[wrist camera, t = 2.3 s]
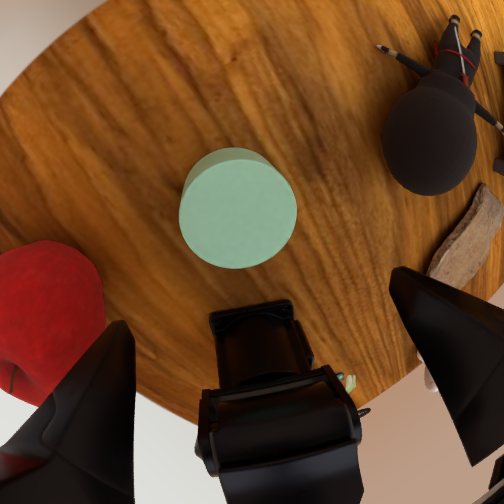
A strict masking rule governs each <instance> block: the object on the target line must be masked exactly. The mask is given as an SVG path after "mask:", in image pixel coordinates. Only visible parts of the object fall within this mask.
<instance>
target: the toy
mask: <svg viewBox="0 0 504 504" xmlns="http://www.w3.org/2000/svg"><path fill="white" fill-rule="evenodd" d="M449 22H450V23H449V25H448V26H447V28H446V30H445V31H444V33H443V35H442V37H441V40H440V43H439V46H438V48H437V45H436V42H435V41H434V48H435V46H436V48H435V52H436V58H435V63H434V69H431V68H428V67H426V66H424V65H422V64H420V63H418V62H416V61H414V60H412V59H411V58H409V57H407V56H405V55H403V54H401V53H399V52H396V51H394V50H391V49H389V48H387V47H385V46H382V45H377V47H378V48H379V49H380V50H382V51H384V52H383V53H388V54H390V55H391V56H393V57H395V59H396V60H398V61H399V62H401V63H403V64H404V65H406V66H407V67H409V68H410V69H412V70H413V71H414V72H416V73H417V74H419V75H420V76H421V77H422V78H421V79H420V80H419V82H418V84H417V86H416V88H415V89H413V90H410V91H409V92H407V93H405V94H404V95H403V96H401V97H400V98H399V99H398V100H397V101H396V102H395V103H394V105H393V107H392V108H391V110H390V112H389V114H388V116H387V118H386V121H385V125H384V130H383V140H382V143H383V152H384V157H385V160H386V163H387V166H388V168H389V170H390V172H391V173H392V175H393V177H394V178H395V179H396V180H397V182H398V183H399V184H401V185H402V186H403V187H404V188H406V189H407V190H409V191H411V192H413V193H415V194H418V195H424V196H434V195H439V194H443V193H445V192H447V191H450V190H451V189H453V188H454V187H456V186H457V185H458V184H459V183H460V182H461V181H462V180H463V179H464V178H465V176H466V175H467V173H468V172H469V170H470V168H471V166H472V164H473V162H474V158H475V155H476V149H477V133H476V127H475V123H474V120H473V119H474V114H475V113H476V114H477V115H479V116H480V117H482V118H483V119H485V120H486V121H487V122H489V123H490V124H492V125H493V126H496V127H497V128H498V129H499V130H500V132H501V134H503V135H504V127H503V126H502V125H501V124H500V123H499V122H498V121H497V120H496V119H495V118H494V117H493V116H492V115H491V114H490V113H489V112H488V111H487V110H485V109H484V108H483V107H482V106H481V105H480V104H479V103H478V102H477V101H476V100H475V97H474V94H473V93H472V92H471V90H470V89H469V88H470V86H471V84H472V81H473V78H474V76H475V73H476V71H477V69H478V66H479V61H480V56H481V52H480V38H481V36H482V33H481V32H480V31H479V30H474V31H473V32H472V33H471V37H472V38H471V41H470V43H469V45H468V46H467V49H465V48H464V47H463V46H462V45H461V43H460V42H459V35H458V24H459V22H460V18H459V17H458V16H457V15H452V16H451V17H450V19H449ZM436 49H437V51H436Z"/></svg>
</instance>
